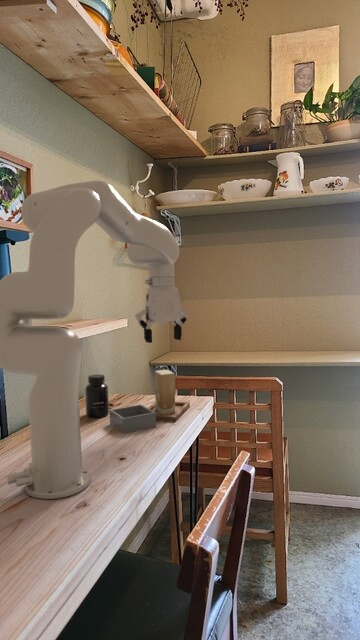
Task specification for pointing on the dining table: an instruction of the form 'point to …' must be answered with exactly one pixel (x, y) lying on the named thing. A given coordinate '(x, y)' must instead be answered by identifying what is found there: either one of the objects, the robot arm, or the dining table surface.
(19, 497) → the dining table surface
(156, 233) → the robot arm
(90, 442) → the dining table surface
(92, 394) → the supplement bottle
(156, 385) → the skincare box
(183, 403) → the tray
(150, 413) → the holder
